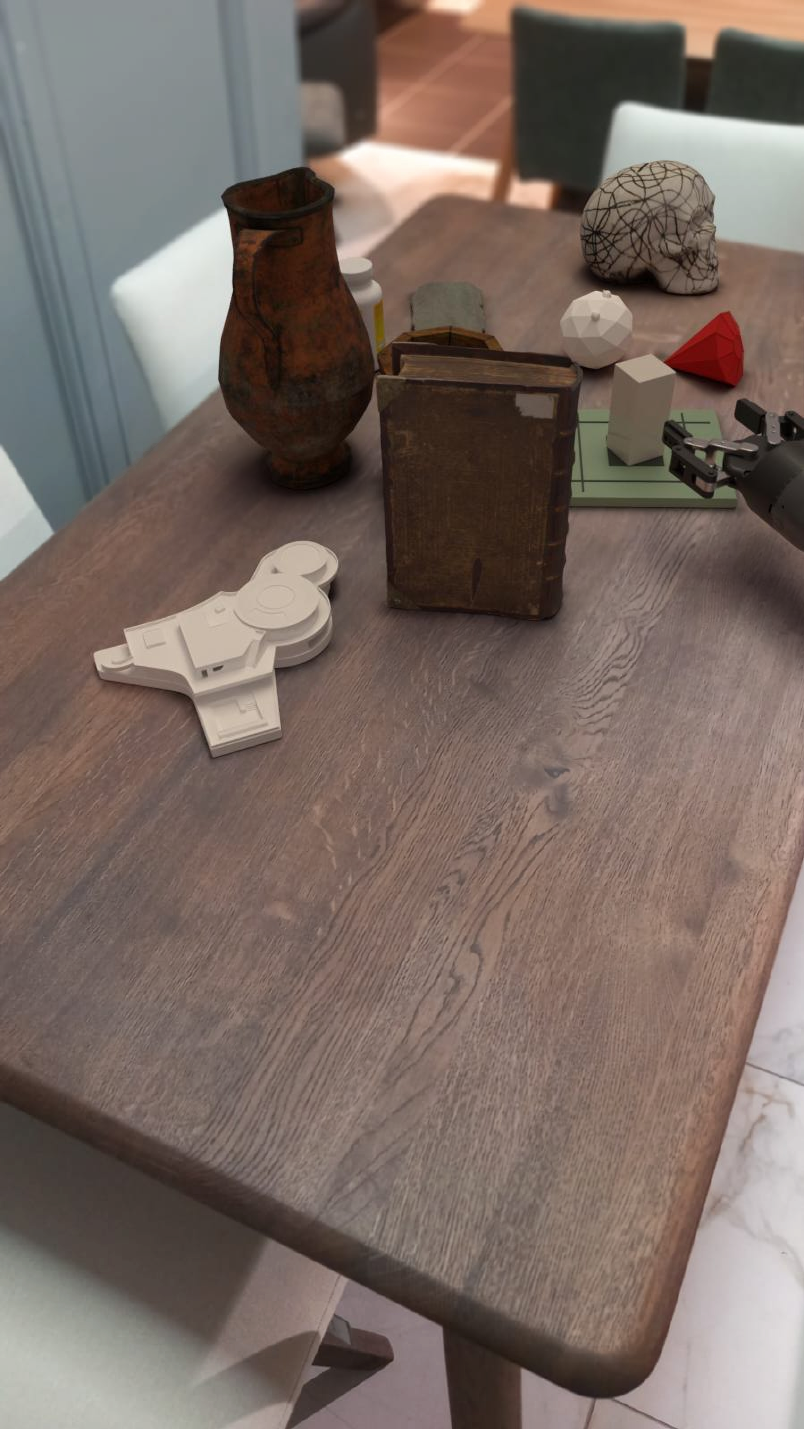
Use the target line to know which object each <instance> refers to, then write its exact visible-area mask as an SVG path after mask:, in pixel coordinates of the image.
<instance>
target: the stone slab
mask: <svg viewBox="0 0 804 1429" xmlns="http://www.w3.org/2000/svg"><path fill="white" fill-rule="evenodd" d="M482 293H483V292H482V290H481V289H480V288H479V287H478V286H476V285H475V284H474V283H472V282H470V281H442V282H440V281H430V282H425V283H424V284H422V285H420V286H419V287H418V288H416V291H415V292H414V293H413V294H412V296H411V298H410V305H411V312H412V317H411V321H410V322H411V323H412V326H413V331H417V330H423V329H430V328H436V327H443V326H450V325H451V326H455V327H459V328H464V329H468V330H472V331H476V332H480V333H484V331H485V330H486V329H487V326H486V321H487V320H486V318H485V315H486V312H485V311H484V310H483V309H482V306H483V304H484V302H483V294H482Z"/></svg>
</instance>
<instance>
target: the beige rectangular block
mask: <svg viewBox="0 0 804 1429" xmlns="http://www.w3.org/2000/svg"><path fill="white" fill-rule="evenodd" d="M663 362H664V361H662V360H661V359H660V358H658V357H657V356H655V355H654V354H653V353H649V354H645V355H641V356H638V357H635V358H630V359H627V360H624V361H620V362H617V363H616V362H615V364H614V370H613V378H612V388H611V397H610V406H609V409H610V415H609V424H608V433H607V443H606V447H608V448H609V449H610V450H611V451H612V452H613V453H614V454H616V455H617V456H618V457H619V458H620V459H621V460H622V461H623V462H625V463H626V464H627V465H628V466H630V465H634V464H637V463H640V462H643V461H646V460H650V459H653V458H656V457H659V456H662V455H664V449H665V444H664V443H663V442H662V435H663V428H664V423H665V422H666V421H669V416H670V410H671V409H672V402H673V396H674V395H673V394H674V390H675V383H676V375H677V372H676V370H675V369H674V368H671V367H669V366H667V365H666V364H665V363H663Z"/></svg>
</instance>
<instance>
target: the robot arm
mask: <svg viewBox="0 0 804 1429" xmlns="http://www.w3.org/2000/svg"><path fill="white" fill-rule="evenodd" d="M733 416H734V419H735V420H736V421H737V422H739V424H741V425H742V426H744V427H745V428H747V429H748V430H749V431H750V432H751V433H753V434H751V435H748V436H747V437H745V438H742V439H736V440H732V441H731V440H727V439H723V440H722V439H718V438H713V439H711V440H710V441H705V440H701V439H697V438H693V435H692V434H690V433H689V432H688V431H687V430H685V429H684V428H683V427H682V426H680V425H679V424H678V423H677V422H675V421H674V420H669V421H666V422H665V423H664V428H663V435H662V442H663V443H664V444H665V445H667V447H669V448H670V449H671V450H672V451H671V460H670V465H669V472H670V473H671V474H673V475H674V476H675V477H676V478H678V479H679V480H680V481H682V482H683V483H684V484H686V485H687V486H688V487H690V488H691V489H692V490H693V491H695V492H696V493H697V494H699V495H700V496H701V497H703V498H705V499H710V498H712V497H713V496H714V491H715V489H718V488H720V487H723V486H728V487H730V488H733V489H735V491H738V492H740V494H741V496H742V498H743V499H744V502H745V504H746V506H747V507H748V509H749V510H750V511H751V512H752V513H754V514H755V515H756V516H757V517H759V518H760V519H761V520H762V521H763V522H764V523H766V524H767V525H768V526H769V527H771V528H772V529H773V530H774V531H776V532H777V533H778V534H779V535H780V536H781V537H783V538H784V540H786V541H788V542H789V543H790V544H791V545H793V547H795V548H796V549H797V550H799V551H801V552H802V553H804V417H803V416H802V415H801V414H800V413H798V412H796V411H795V410H787V411H785V412H784V415H779V414H778V413H776V412H773V411H770V412H768V411H767V410H765V409H763V407H761V406H760V405H758V404H757V403H756V402H753V401H751V400H749V399H747V398H746V397H743V398H739V399H737V400H736V402H735V408H734V413H733ZM696 450H699V451H703V452H705V453H706V457H705V459H703V458H699V457H697V456H695V451H696ZM717 451H722V452H724V455H723V460H722V467H719V466H717V465H716V463H715V459H716V454H717ZM684 466H685V468H684Z"/></svg>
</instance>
